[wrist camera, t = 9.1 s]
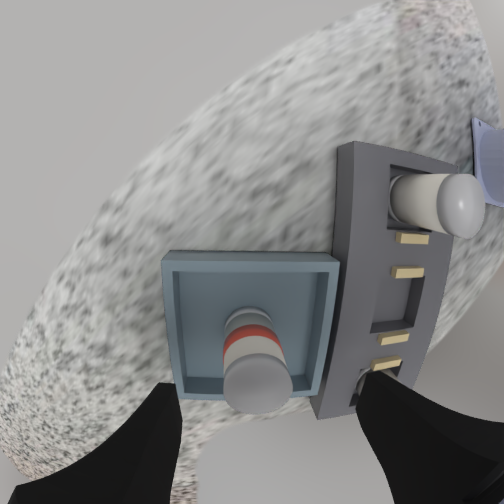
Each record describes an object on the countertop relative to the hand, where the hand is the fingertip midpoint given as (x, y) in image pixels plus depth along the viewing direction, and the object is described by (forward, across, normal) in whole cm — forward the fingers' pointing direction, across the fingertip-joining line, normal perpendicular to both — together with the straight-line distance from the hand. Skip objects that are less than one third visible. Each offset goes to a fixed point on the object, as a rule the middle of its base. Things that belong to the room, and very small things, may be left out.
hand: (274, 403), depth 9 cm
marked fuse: (+9, 0, +1) cm, 9 cm away
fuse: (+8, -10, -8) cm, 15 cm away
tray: (+9, 0, +1) cm, 9 cm away
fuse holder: (+9, -10, 0) cm, 13 cm away
